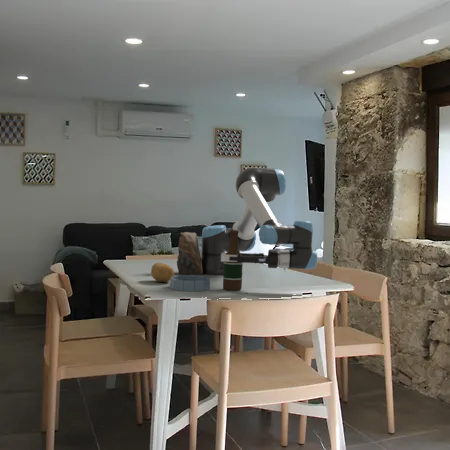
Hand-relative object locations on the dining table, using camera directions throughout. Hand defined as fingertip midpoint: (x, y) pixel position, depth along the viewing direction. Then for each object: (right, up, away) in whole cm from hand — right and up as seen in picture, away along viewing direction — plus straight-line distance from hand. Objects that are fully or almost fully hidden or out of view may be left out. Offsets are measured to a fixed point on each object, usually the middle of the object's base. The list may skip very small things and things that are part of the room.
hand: (221, 257), depth 231 cm
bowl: (-13, -13, +1) cm, 18 cm away
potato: (-25, -12, +15) cm, 32 cm away
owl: (-15, -11, +46) cm, 50 cm away
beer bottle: (+4, -13, 0) cm, 14 cm away
